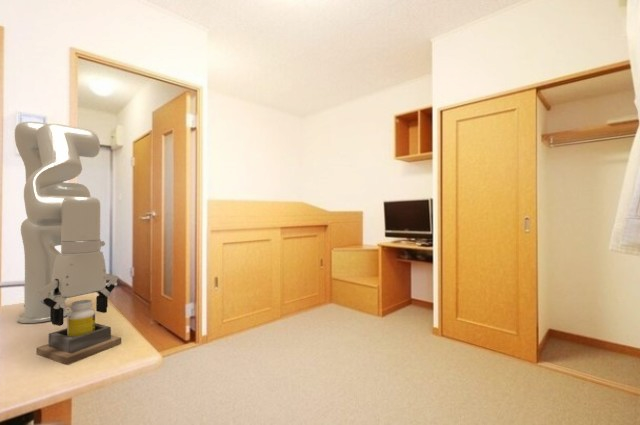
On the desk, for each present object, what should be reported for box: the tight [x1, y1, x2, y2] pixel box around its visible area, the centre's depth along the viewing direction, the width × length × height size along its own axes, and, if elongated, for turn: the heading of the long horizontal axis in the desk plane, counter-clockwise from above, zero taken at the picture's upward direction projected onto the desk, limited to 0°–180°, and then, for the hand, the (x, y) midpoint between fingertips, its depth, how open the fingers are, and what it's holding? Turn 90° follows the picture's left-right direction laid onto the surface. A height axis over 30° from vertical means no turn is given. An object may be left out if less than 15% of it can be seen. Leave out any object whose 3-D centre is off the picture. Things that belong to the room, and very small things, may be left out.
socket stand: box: [36, 322, 122, 366], centre depth 76 cm, size 12×12×4 cm
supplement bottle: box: [66, 299, 96, 338], centre depth 76 cm, size 5×5×10 cm
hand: (80, 317), depth 76 cm, fingers open, 9 cm apart
